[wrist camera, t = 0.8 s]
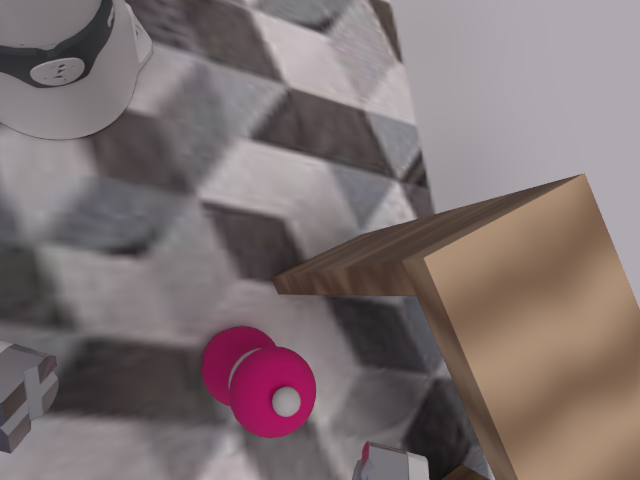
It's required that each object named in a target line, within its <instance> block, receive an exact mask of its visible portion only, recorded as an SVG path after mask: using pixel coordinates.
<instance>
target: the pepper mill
mask: <svg viewBox="0 0 640 480" xmlns="http://www.w3.org/2000/svg"><path fill="white" fill-rule="evenodd" d="M202 376H203V380H204V383H205V386H206V387H207V389H208V391H209V392H210V393H211V395H213V396H214V397H215V398H216V399H217V400H218V401H220V402H221V403H223V404H225V405H228V406H231V409H232V411H233V413H234V416H235V418H236V419H237V420H238V421H239V423H240V424H241V425H242V426H243V427H244V428H245V429H247V430H248V431H250V432H251V433H253V434H255V435H258V436H260V437H266V438H274V437H281V436H285V435H288V434H290V433H292V432H294V431H295V430H297V429H298V428H299V427H300V426H302V424H303V423H304V422H305V421H306V420H307V418H308V417H309V415H310V413H311V412H312V409H313V407H314V403H315V398H316V383H315V379H314V375H313V372H312V370H311V368H310V367H309V365H308V364H307V362H306V361H305V360H304V359H303V358H302V357H301V356H299V355H298V354H297V353H295V352H294V351H292V350H290V349H287V348H283V347H277V346H276V345H275V343H274V342H273V341H272V339H271V338H269V337H268V336H267V335H266V334H265V333H263V332H262V331H260V330H258V329H255V328H252V327H246V326H241V327H234V328H231V329H228V330H225V331H222V332H221V333H219V334H217V335H216V336H215V337H214V338H212V340H211V341H210V342H209V343H208V345H207V347H206V349H205V351H204V355H203V362H202Z"/></svg>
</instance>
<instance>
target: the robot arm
mask: <svg viewBox="0 0 640 480" xmlns="http://www.w3.org/2000/svg"><path fill="white" fill-rule="evenodd" d="M136 34H137V35H136ZM152 52H153V45H152V41H151V39H150V37H149V35H148V34H147V32H146V31H145V30H144V28H143V27H142V25H141V24H140V22H139V21H138V19H137V18H136V16H135V15H134V13H133V12H132V9H131V7H130V5H129V4H127V3H126V2H125V0H0V122H1V123H3V124H4V125H6V126H8V127H10V128H12V129H14V130H16V131H19V132H21V133H24V134H27V135H30V136H34V137H39V138H45V139H59V140H62V139H73V138H79V137H83V136H87V135H90V134H93V133H95V132H97V131H99V130H102V129H103V128H105V127H107V126H108V125H110V124H111V123H112V122H113V121H115V120H116V119H117V118H118V117H119V116H120V115H121V114H122V113H123V111H124V110H125V109H126V107H127V105H128V104H129V102H130V100H131V98H132V95H133V92H134V88H135V84H136V79H137V75H138V73H139V70H140V69H141V68H142V67H143V66H144V65H145V63H146V62H147V61H148V59H149V58H150V57H151V55H152ZM56 366H57V362H56V356H52V355H49V354H46V353H43V352H39V351H36V350H33V349H29V348H26V347H23V346H19V345H16V344H13V343H9V342H6V341H2V340H0V451H3V452H7V453H12V452H13V451H14V449H15V448H16V447H17V446H18V445H19V443H20V442H21V441H22V440H23V439H24V437H25V436H26V435H27V434H28V433H29V432H30V430H31V421H32V420H34V419H36V418H38V417H40V416H42V415H44V413H45V412H46V411H47V410H48V408H49V407H50V406H51V404H52V402H53V400H54V398H55V396H56V394H57V390H58V378H57V376H56V375H55V374H54V373H53V370H54V369H55V368H56ZM352 480H429V471H428V461H427V459H426V457H424V456H421V455H417V454H413V453H409V452H405V451H404V450H400V449H396V448H392V447H388V446H385V445H381V444H377V443H373V442H369V441H367V442H366V444H365V446H364V448H363V452H362V459H360V460H358V462H357V464H356V467H355V469H354V473H353V477H352Z"/></svg>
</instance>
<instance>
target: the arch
mask: <svg viewBox="0 0 640 480" xmlns="http://www.w3.org/2000/svg"><path fill="white" fill-rule="evenodd" d="M271 278H272V281H273V283H274V285H275V287H276V290H277V292H278V294H298V295H374V296H417V298H418V300H419V302H420V305H421V307H422V309H423V312H424V314H425V316H426V319H427V321H428V323H429V326H430V328H431V330H432V333H433V335H434V337H435V340H436V342H437V344H438V347H439V349H440V351H441V354H442V356H443V358H444V361H445V363H446V365H447V368H448V370H449V372H450V375H451V377H452V379H453V382H454V384H455V386H456V389H457V391H458V393H459V396H460V398H461V400H462V403H463V405H464V407H465V410H466V412H467V414H468V417H469V419H470V421H471V424H472V426H473V428H474V431H475V433H476V435H477V438H478V440H479V442H480V445H481V447H482V449H483V452H484V454H485V456H486V459H487V461H488V463H489V466H490V468H491V470H492V473H493V475H494V477H495V480H640V309H639V307H638V304H637V302H636V299H635V297H634V294H633V292H632V290H631V287H630V284H629V282H628V280H627V277H626V274H625V272H624V270H623V267H622V265H621V262H620V260H619V257H618V255H617V252H616V250H615V247H614V245H613V242H612V240H611V238H610V235H609V233H608V230H607V228H606V225H605V223H604V220H603V218H602V215H601V213H600V211H599V208H598V205H597V203H596V200H595V198H594V196H593V193H592V191H591V188H590V186H589V183H588V181H587V178H586V176H585V174H581V175H577V176H573V177H569V178H566V179H562V180H558V181H555V182H551V183H547V184H544V185H541V186H537V187H533V188H529V189H526V190H522V191H519V192H515V193H511V194H507V195H504V196H500V197H497V198H493V199H489V200H486V201H482V202H479V203H475V204H471V205H467V206H464V207H460V208H457V209H453V210H449V211H445V212H442V213H439V214H435V215H431V216H427V217H424V218H420V219H416V220H413V221H409V222H405V223H402V224H398V225H395V226H391V227H387V228H384V229H380V230H376V231H373V232H369V233H365V234H362V235H360V236H358V237H356V238H353V239H351V240H349V241H347V242H345V243H343V244H341V245H339V246H336V247H334V248H332V249H330V250H328V251H326V252H324V253H321V254H319V255H317V256H315V257H313V258H311V259H309V260H307V261H304V262H302V263H300V264H298V265H296V266H294V267H292V268H290V269H287V270H285V271H283V272H281V273H279V274H277V275H275V276H273V277H271ZM441 480H489V479H487V478H486V477H484V476H482V475H480V474H478V473H476V472H475V471H473V470H471V469H469V468H467V467H466V466H464V465H462V464H461V465H460V466H458V467H457V468H456V469H454V470H453V471H452V472H451V473H449V474H448V475H447V476H445V477H444V478H443V479H441Z"/></svg>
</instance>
